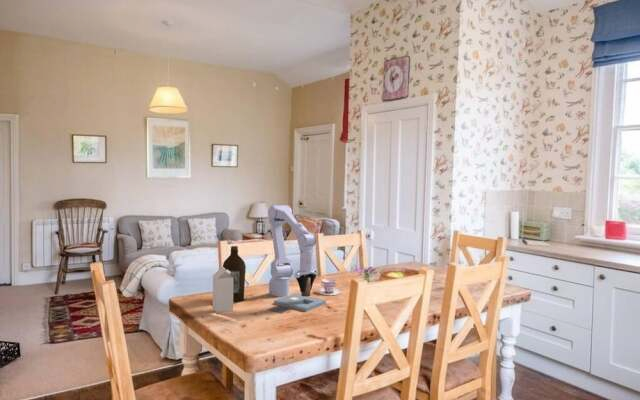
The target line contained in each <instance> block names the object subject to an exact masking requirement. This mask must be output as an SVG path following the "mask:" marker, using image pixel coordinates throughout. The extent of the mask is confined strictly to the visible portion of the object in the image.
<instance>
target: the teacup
mask: <svg viewBox="0 0 640 400" xmlns="http://www.w3.org/2000/svg"><path fill="white" fill-rule="evenodd" d="M338 282H339V280H338V279H335V278H322V279H321V282H320V283H321V286H322V288H321V289H318V290H317V292H316V293H317V294H318V295H322V296H338V295H340V294H342V291H341V290H339V289H338V288H336V285H337V284H338Z"/></svg>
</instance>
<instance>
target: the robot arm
mask: <svg viewBox="0 0 640 400" xmlns="http://www.w3.org/2000/svg"><path fill="white" fill-rule="evenodd" d="M292 213H293V210H292V208H291V206H290V205H288V204H286V205H283V204H282V205H273V204H272V205H270V206H269V208H268V210H267V216H268V224H270V228H271V236H272V237H271V238H272V244H273V252H274V260H273V261H272V262H270V275H271V278H270V280H269V281H268V282H269V283H268V295H272V296H275V297H280V298H283V297H286V296H289V295H291V294H290V279H291V278H292V276H294V278H295V280H296V281H297V283H298V287H299V290H300V293H301V292H305V290H306V283H307V280H308V278H307V277H311V286H310V291H312V287H313V284H314V282H315V279H316V277H317V273H318V267H314V246H315V245H316V243H317V237H316V235H315V233H313V232H309V230H308V229H307V228H306V227H305V226H304V224H303V223H302V222H298V221H297V218H296V217H294V214H292ZM284 223H287V224H288V225H289V226H290V228H291V232H292V233H293V235H294V236H295V238H296V239H297V244H298V250H299V255H300V256H299V270H298V271H296V272H294V268H293V264H292V261H291V259H289V258H287V256H286V254H287V253H286V248H285V247H286V246H285V239H284V233H283V227H282V226H283V224H284ZM293 274H294V275H293Z"/></svg>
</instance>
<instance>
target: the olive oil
mask: <svg viewBox="0 0 640 400" xmlns="http://www.w3.org/2000/svg"><path fill="white" fill-rule="evenodd" d="M238 248H239V246H237V245H232V246H230V255H228V257H227V258H226V259H225V260H224V261H223V264H222V267H224V268H225V269H226V270H229V271H230V272H231V273H230V274H229V275H231V276H232V277H233V303H239V302H243V300H245V285H246V283H245V282H246V269H247V268H246V267H247V266H246V263H245V260H243V258H242V257H241V256H240V255H239V249H238Z"/></svg>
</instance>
